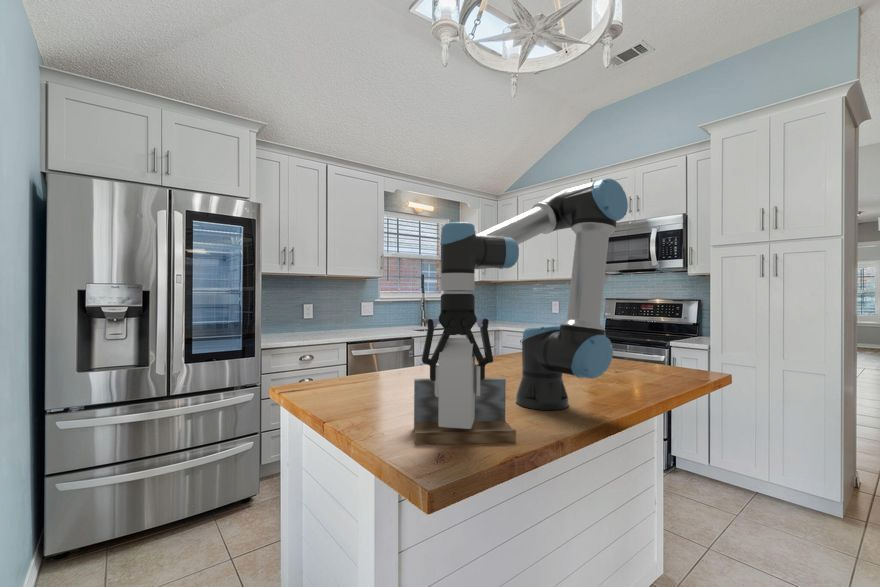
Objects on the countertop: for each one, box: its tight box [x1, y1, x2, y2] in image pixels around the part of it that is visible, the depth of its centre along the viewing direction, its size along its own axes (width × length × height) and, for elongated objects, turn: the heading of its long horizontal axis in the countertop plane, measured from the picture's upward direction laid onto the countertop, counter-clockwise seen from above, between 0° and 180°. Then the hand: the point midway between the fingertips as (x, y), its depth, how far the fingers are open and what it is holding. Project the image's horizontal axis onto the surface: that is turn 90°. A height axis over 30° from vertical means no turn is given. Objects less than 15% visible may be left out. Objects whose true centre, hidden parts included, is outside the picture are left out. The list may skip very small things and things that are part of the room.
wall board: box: [413, 377, 517, 446], centre depth 95 cm, size 22×11×12 cm, turn 96°
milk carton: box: [438, 337, 476, 429], centre depth 91 cm, size 7×7×19 cm
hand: (457, 394), depth 91 cm, fingers closed on milk carton, 8 cm apart
